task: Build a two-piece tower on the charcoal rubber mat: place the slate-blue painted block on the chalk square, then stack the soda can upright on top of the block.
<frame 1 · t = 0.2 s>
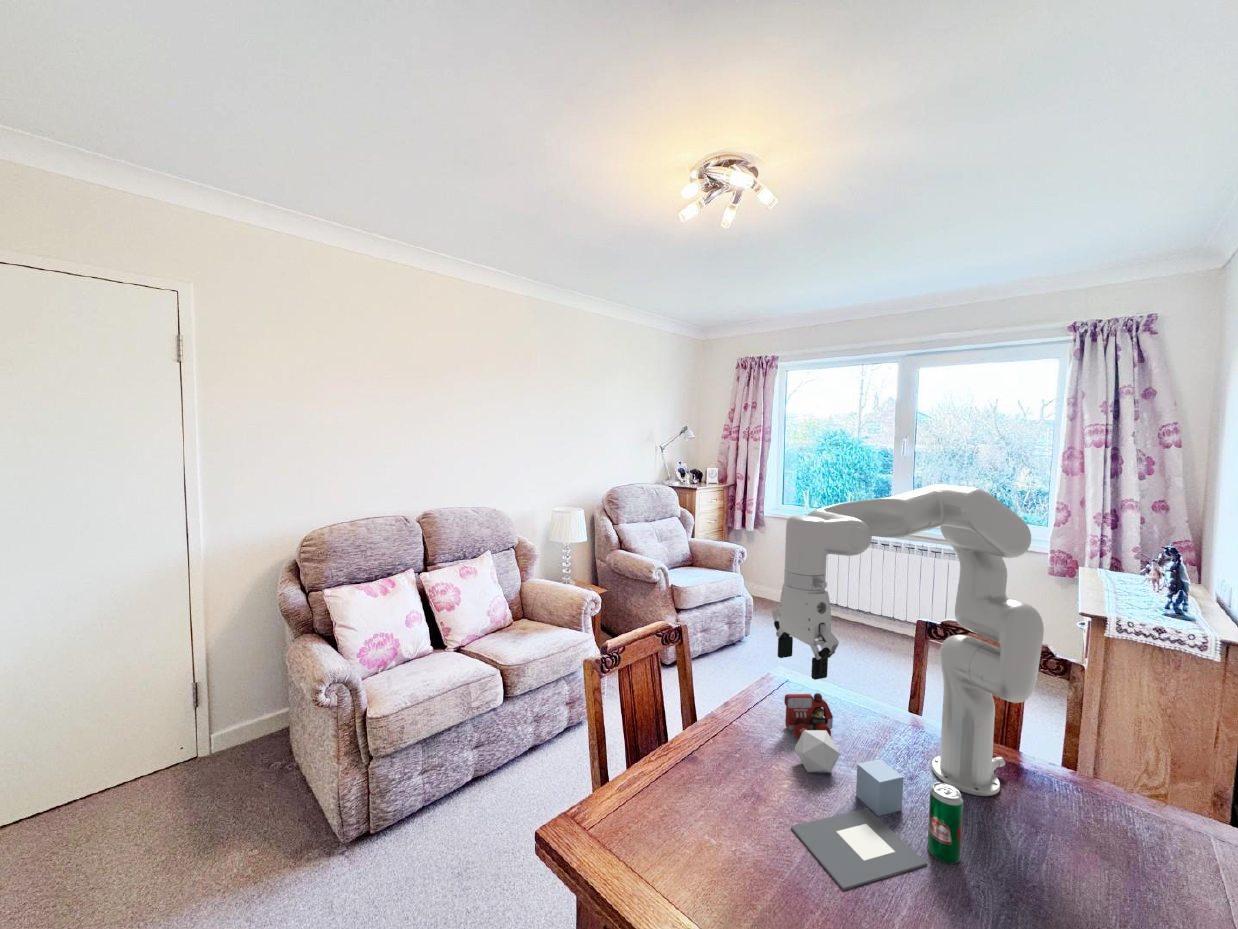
hand: (801, 667, 99), 31 cm above the table, fingers open, 9 cm apart
soda can: (943, 855, 92), on the table
mat: (856, 846, 94), on the table
blue block: (878, 803, 105), on the table
die: (816, 769, 116), on the table
toy fire truck: (808, 735, 130), on the table
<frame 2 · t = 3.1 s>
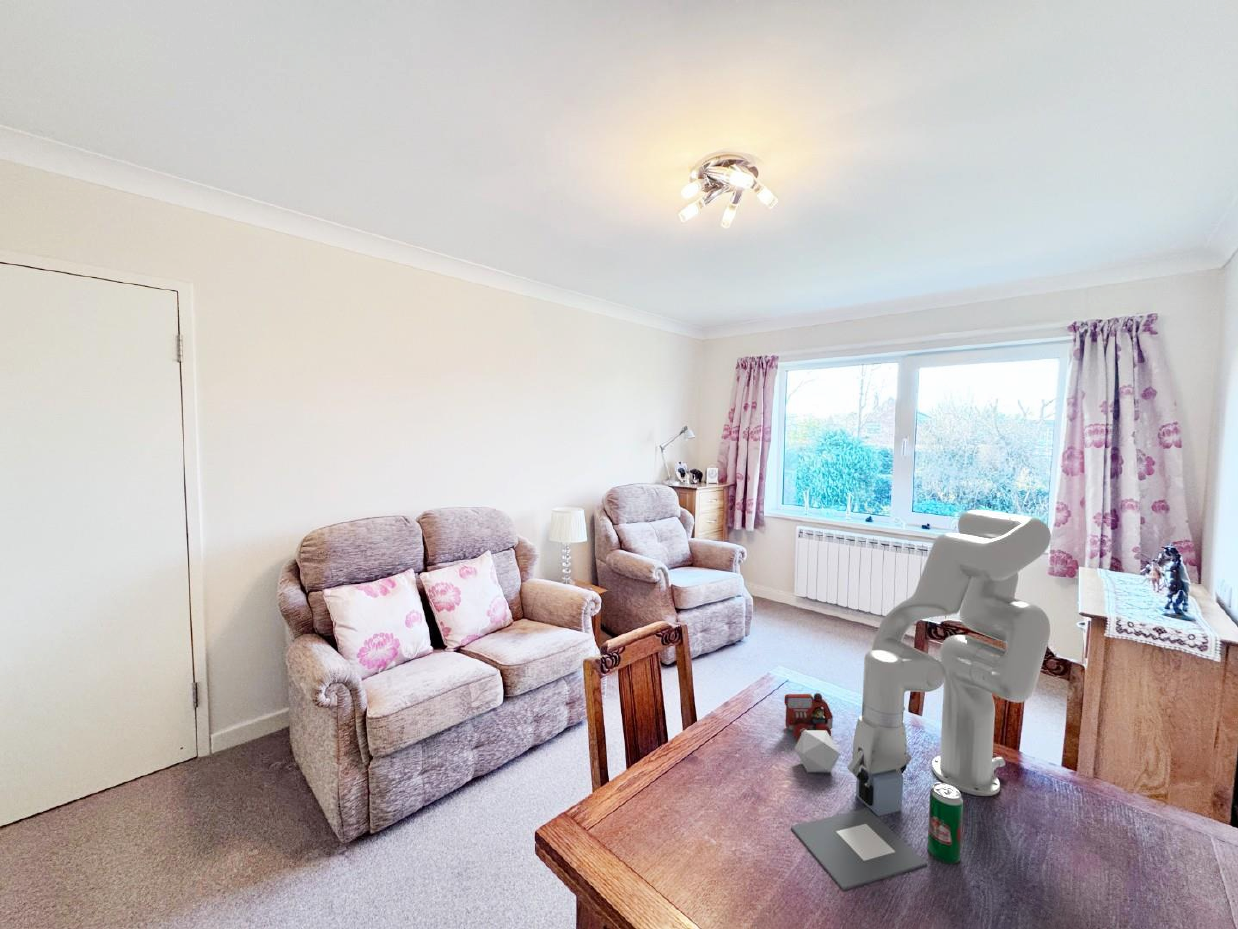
hand: (878, 797, 105), 1 cm above the table, fingers closed on blue block, 6 cm apart
blue block: (878, 802, 105), on the table, touching gripper
everything else where it was.
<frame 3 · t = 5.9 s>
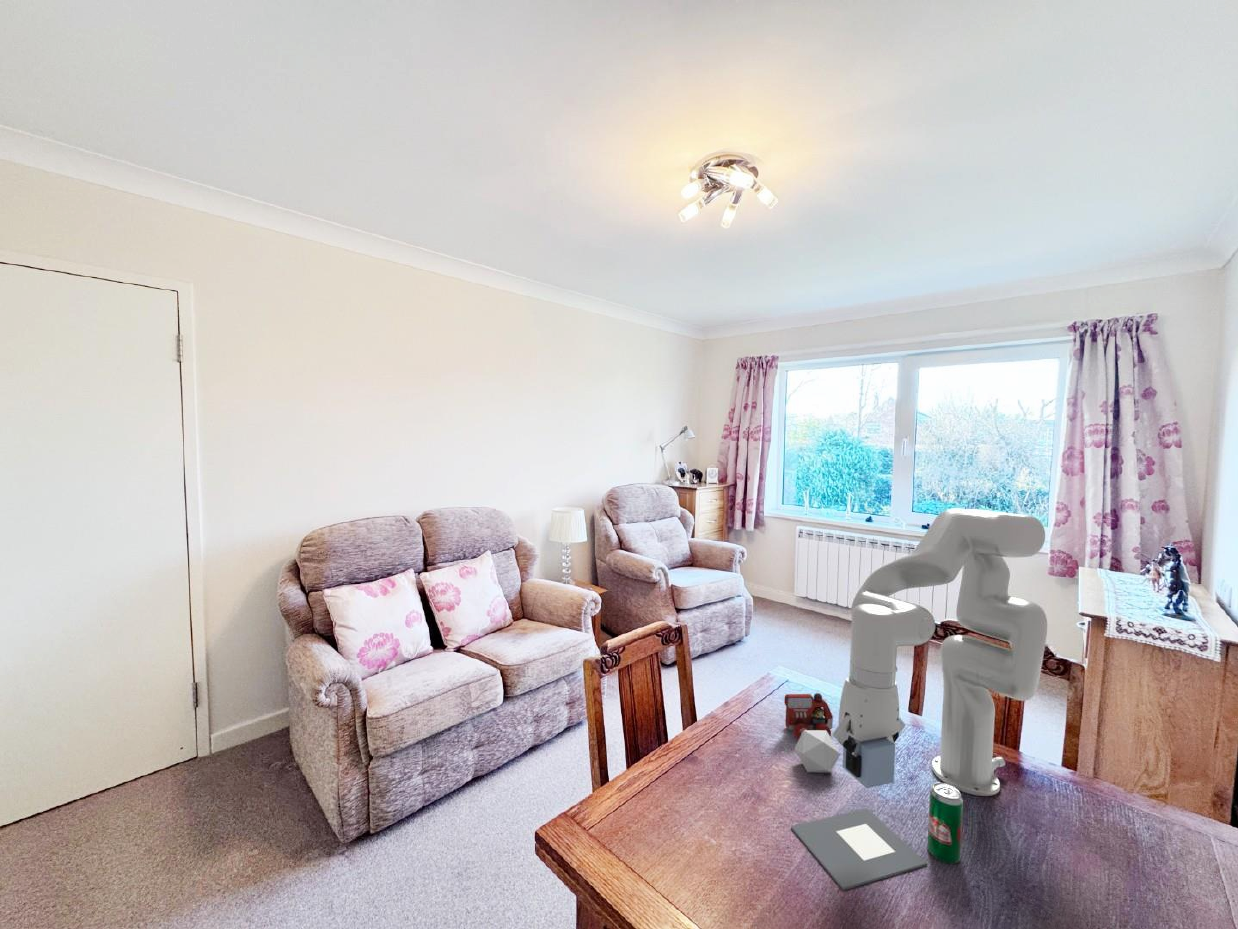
hand: (867, 769, 94), 14 cm above the table, fingers closed on blue block, 6 cm apart
blue block: (867, 774, 94), point 13 cm above the table, touching gripper
everything else where it was.
when the fingers open (3 cm above the table, at t = 8.4 s): blue block stays where it is, resting on mat.
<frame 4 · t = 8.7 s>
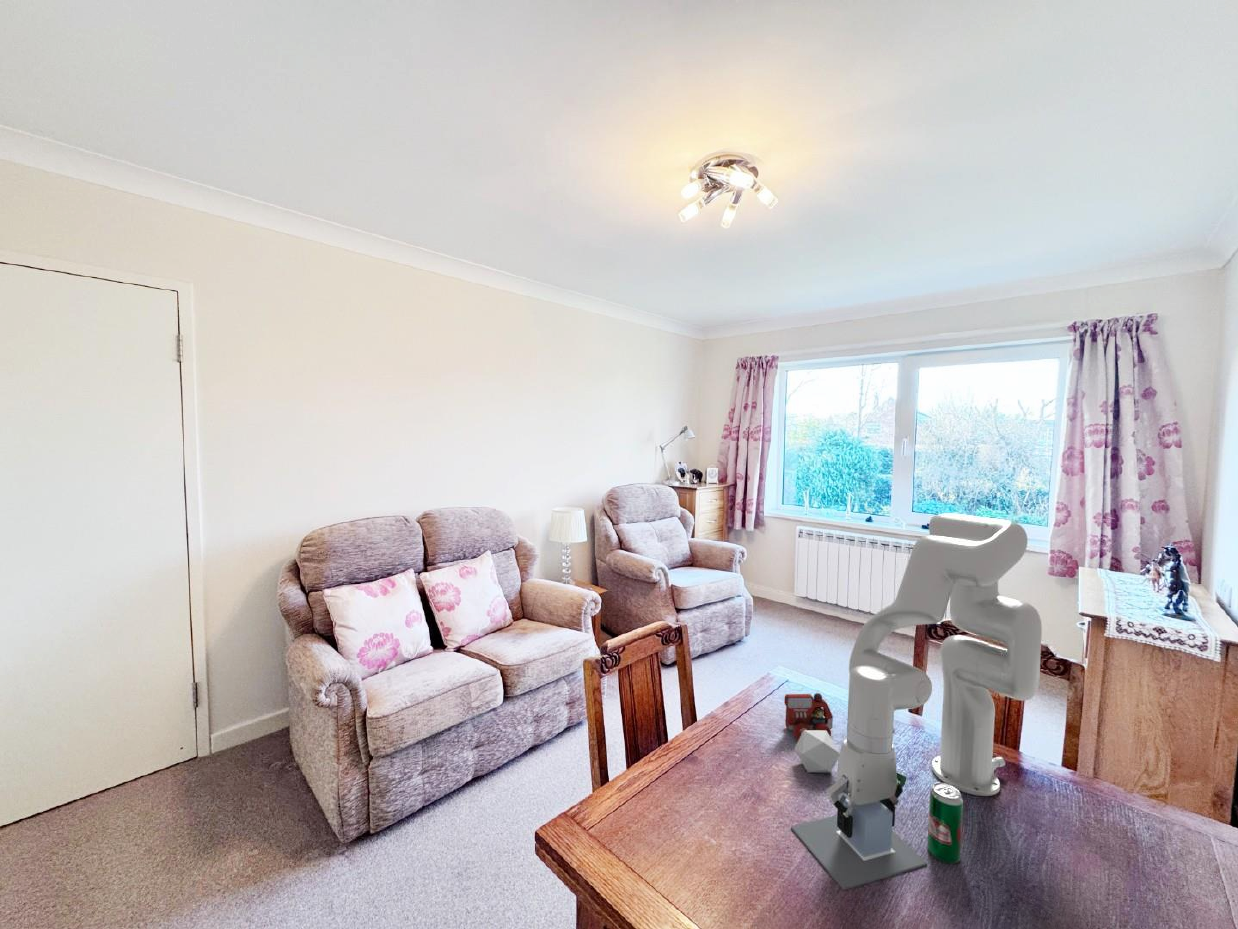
hand: (865, 826, 94), 3 cm above the table, fingers open, 9 cm apart
blue block: (865, 841, 94), resting on mat
everything else where it was.
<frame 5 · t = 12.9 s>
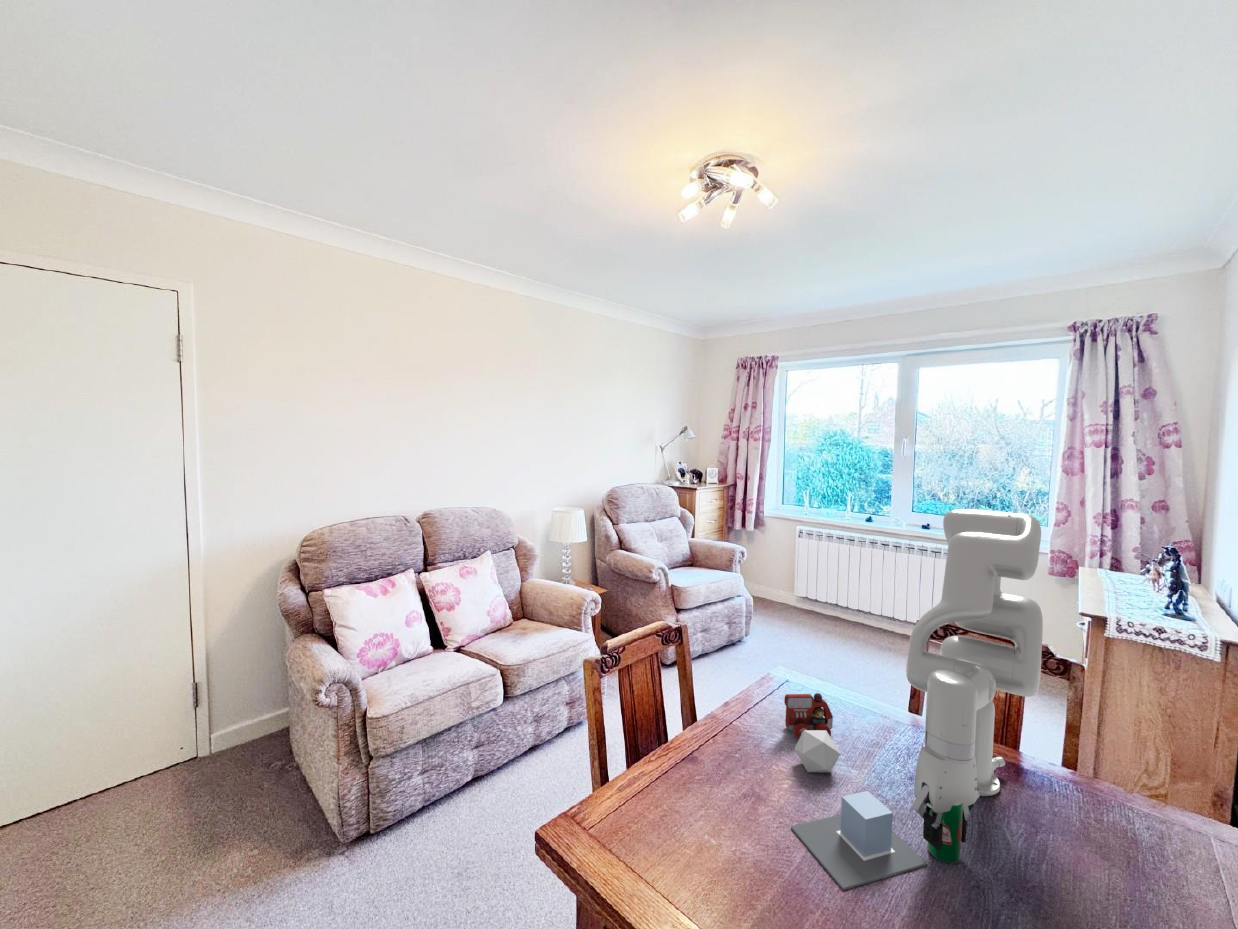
hand: (944, 839, 92), 3 cm above the table, fingers closed on soda can, 5 cm apart
soda can: (943, 855, 92), on the table, touching gripper
everything else where it was.
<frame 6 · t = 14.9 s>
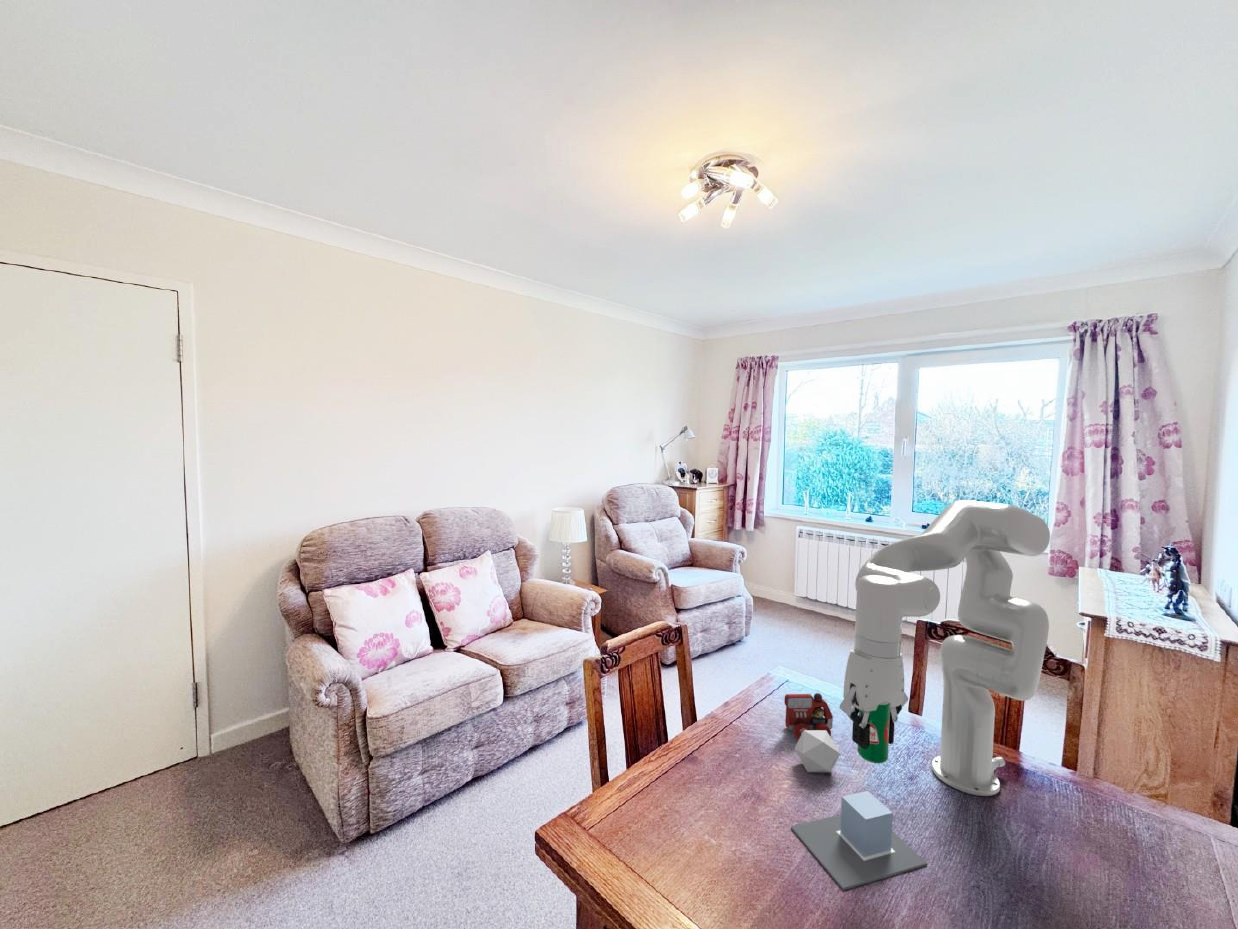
hand: (872, 741, 93), 20 cm above the table, fingers closed on soda can, 5 cm apart
soda can: (872, 757, 93), point 17 cm above the table, touching gripper
everything else where it was.
when the fingers open (11 cm above the table, at t = 17.3 s): soda can stays where it is, resting on blue block.
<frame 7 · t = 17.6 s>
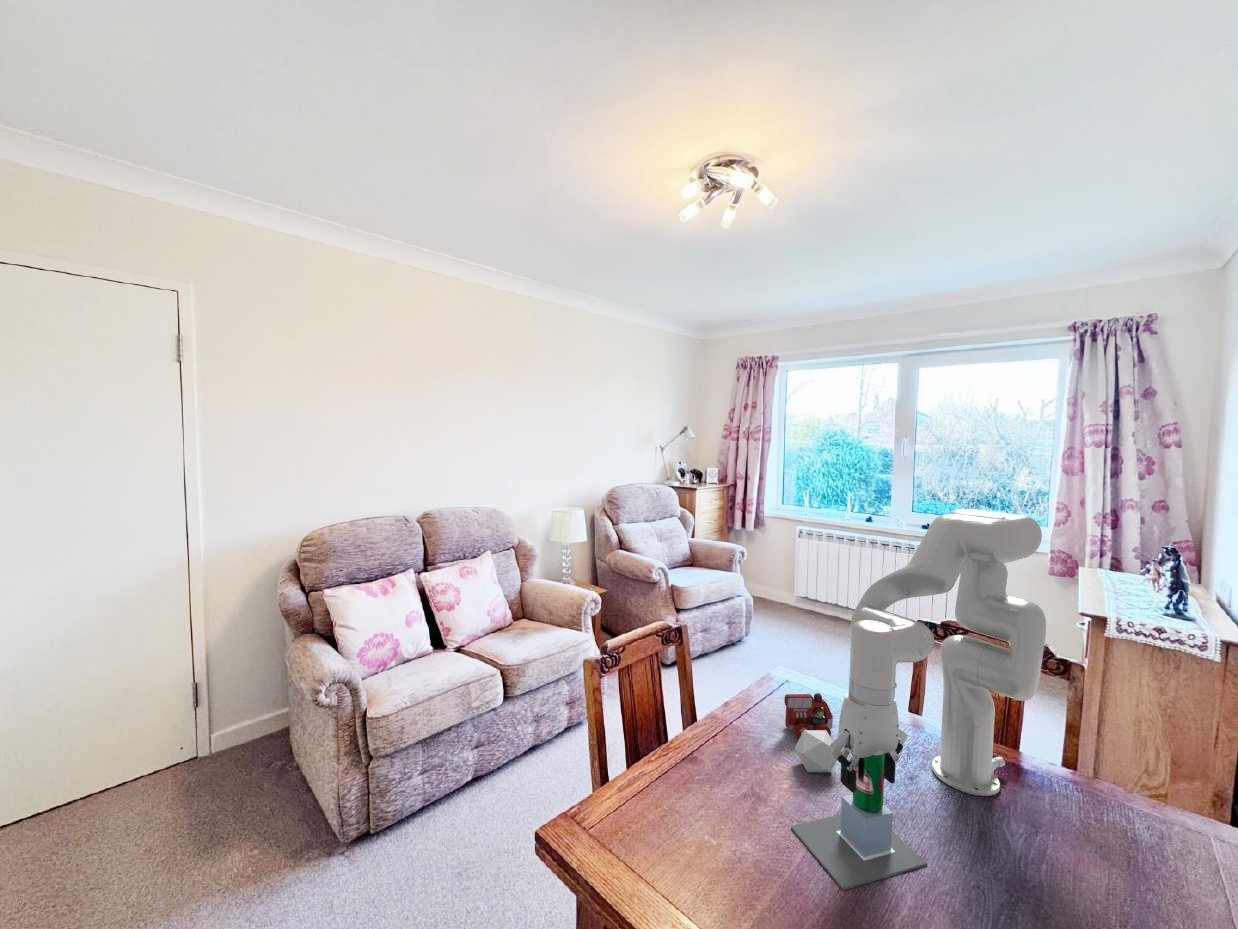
hand: (867, 782, 94), 12 cm above the table, fingers open, 8 cm apart
soda can: (867, 805, 94), point 7 cm above the table, touching blue block
blue block: (865, 841, 94), resting on mat, touching soda can
everything else where it was.
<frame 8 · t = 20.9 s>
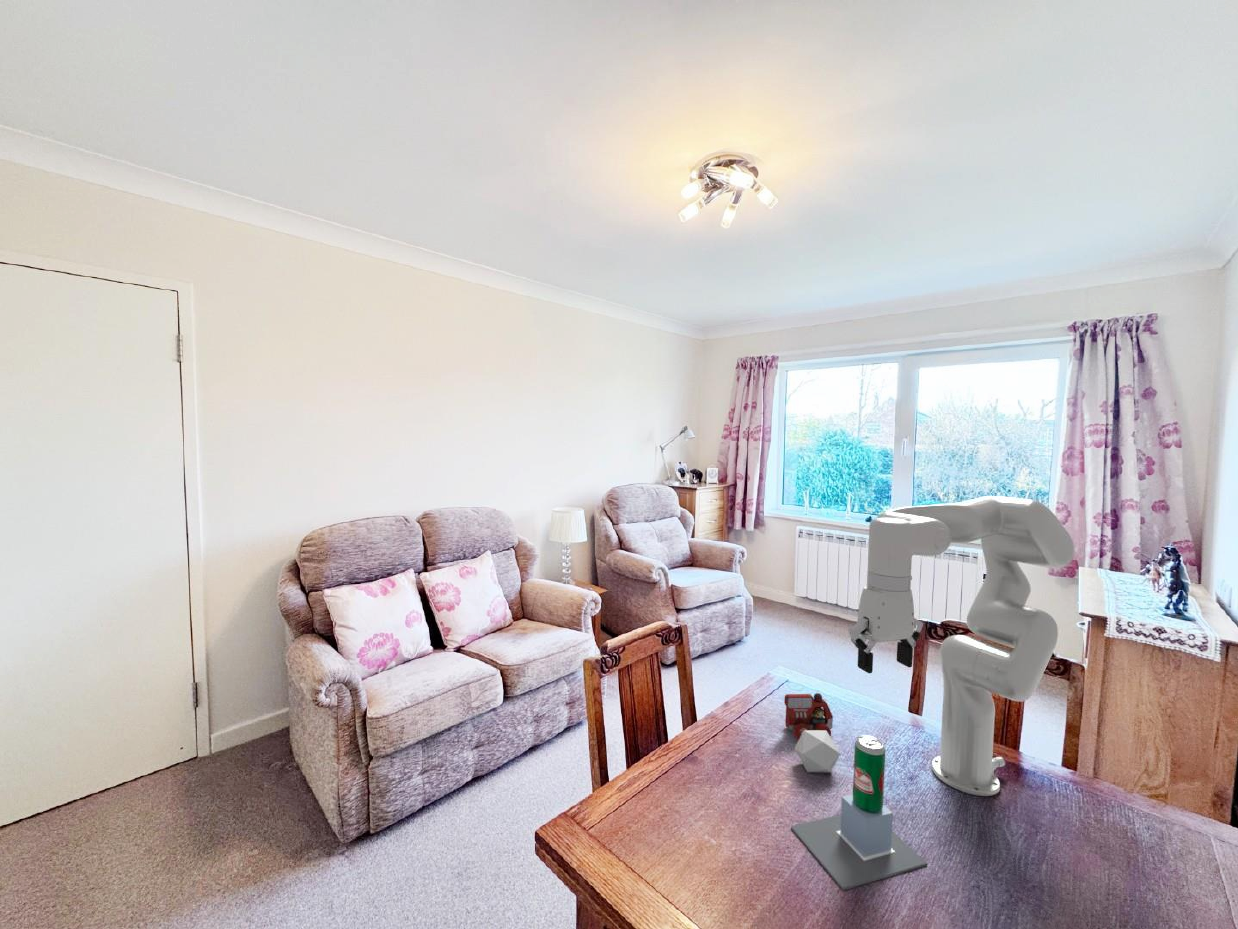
hand: (884, 667, 100), 30 cm above the table, fingers open, 9 cm apart
nothing on the table moved.
at the end: blue block inside the target area on the mat (0.1 cm from its centre), point 0.4 cm above the mat's base; soda can 0.1 cm from the blue block (horizontally); soda can touching blue block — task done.
